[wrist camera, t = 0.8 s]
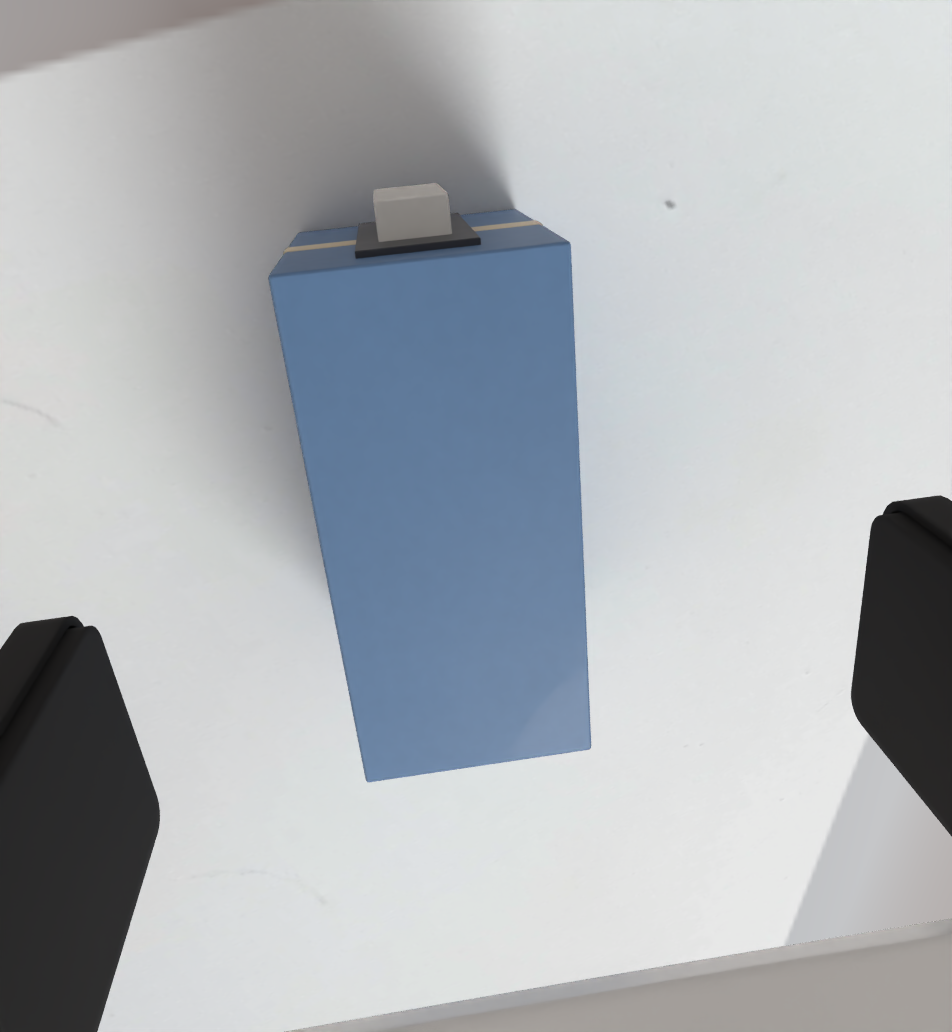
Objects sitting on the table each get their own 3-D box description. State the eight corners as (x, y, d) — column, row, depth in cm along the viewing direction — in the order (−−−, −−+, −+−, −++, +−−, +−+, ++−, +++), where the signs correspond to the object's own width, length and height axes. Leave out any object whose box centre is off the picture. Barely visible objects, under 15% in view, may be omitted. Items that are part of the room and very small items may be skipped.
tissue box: (289, 192, 22) (255, 221, 16) (515, 169, 22) (570, 187, 16) (367, 636, 28) (365, 784, 22) (544, 612, 29) (592, 751, 22)
